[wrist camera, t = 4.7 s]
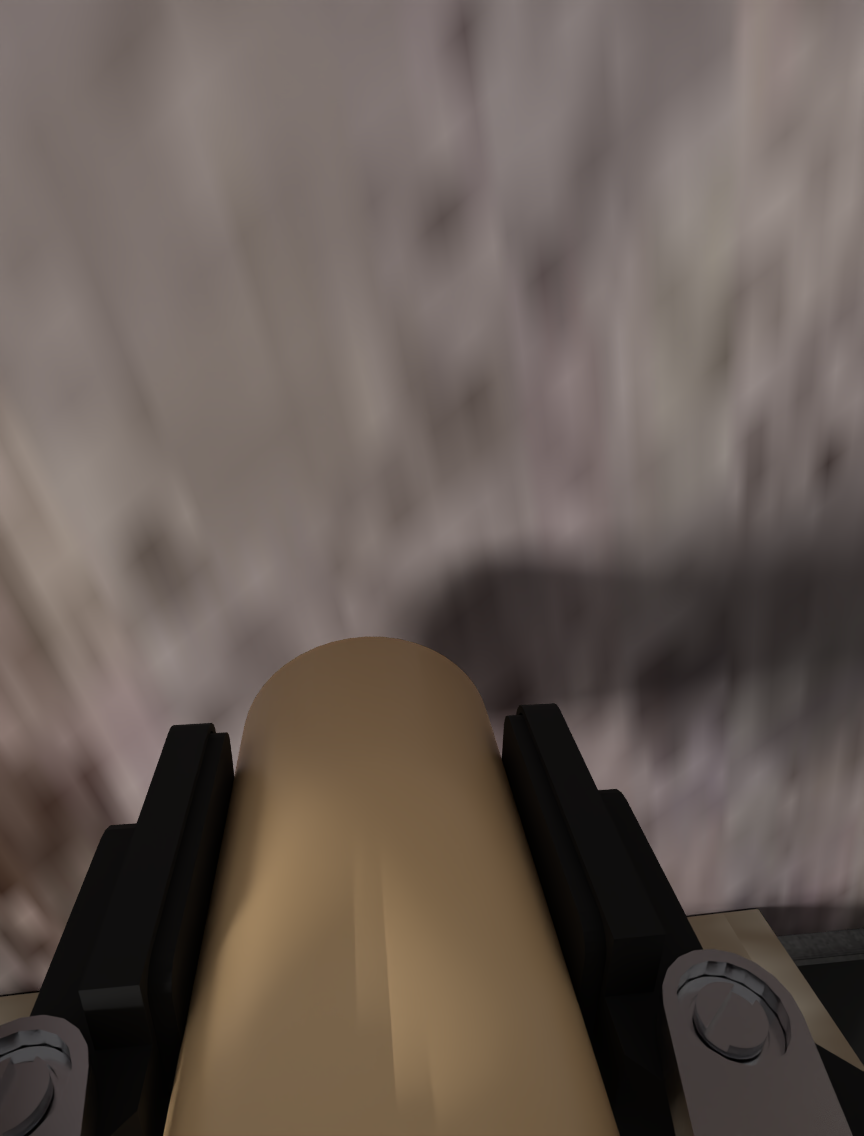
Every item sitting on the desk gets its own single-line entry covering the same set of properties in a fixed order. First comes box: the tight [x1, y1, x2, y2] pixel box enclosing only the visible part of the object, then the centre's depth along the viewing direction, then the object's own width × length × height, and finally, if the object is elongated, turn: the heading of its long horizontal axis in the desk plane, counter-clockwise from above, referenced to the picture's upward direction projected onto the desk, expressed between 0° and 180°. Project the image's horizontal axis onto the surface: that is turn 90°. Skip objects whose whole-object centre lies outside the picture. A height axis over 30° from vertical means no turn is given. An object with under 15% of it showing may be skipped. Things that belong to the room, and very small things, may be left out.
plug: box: [163, 637, 620, 1136], centre depth 8 cm, size 4×4×8 cm
